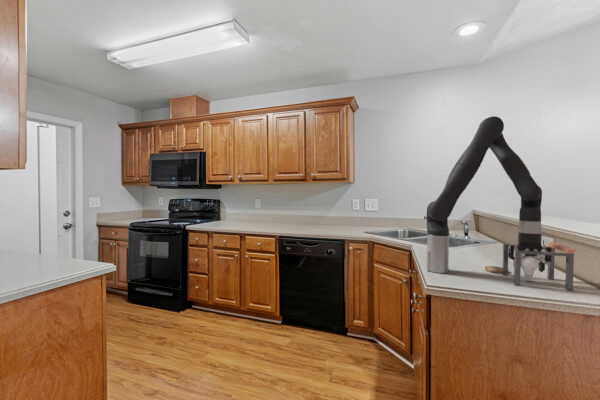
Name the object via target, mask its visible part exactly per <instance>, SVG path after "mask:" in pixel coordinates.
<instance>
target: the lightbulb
mask: <svg viewBox="0 0 600 400" xmlns="http://www.w3.org/2000/svg"><path fill="white" fill-rule="evenodd" d="M539 262H540V261H539V259H538V258H537V257H536V256H525V255H524V256H523V257H522V258H521V269H522V271H523V273H524V280H525V281H526V282H533V279H534V278H533V277H534V274H535V271H536V270H537V269H539Z"/></svg>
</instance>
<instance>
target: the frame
mask: <svg viewBox="0 0 600 400" xmlns="http://www.w3.org/2000/svg"><path fill="white" fill-rule="evenodd" d="M510 244H511V245H518V243H516V244H513V243H503V244H502V268H503V269H502V274H501V275H502V276H509V257H508V252H509V245H510ZM541 246H542V247H546V246H547V247H550V246H548V245H541ZM550 248H551V252H544V251H541V252H540V251H524V250H518V249H516V250H514V260H513V269H514V270H513V284H514V286H517V287H519V286H521V269H522V267H521V254H536V255H541V256H545V255H551V262H547V280H550V281H552V280H553V281H554V280H555V257H565V279H564V280H565V283H564V284H565V286H564V289H565V290H566V291H570V292H574V262H575V259H574V258H575V254H569V253H565V252H556V251H555V250H556V249H555V248H552V247H550Z"/></svg>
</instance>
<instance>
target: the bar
mask: <svg viewBox="0 0 600 400" xmlns="http://www.w3.org/2000/svg"><path fill="white" fill-rule="evenodd" d="M547 246H550V247H552V248H555V250H557V251H560V252H562V253H569V254H574V255H575V252H576V251H575V249H574V248H571V247H568V246H565V245H562V244H559V243H557V242H552V241H548V242H547Z"/></svg>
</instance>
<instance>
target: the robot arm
mask: <svg viewBox="0 0 600 400" xmlns="http://www.w3.org/2000/svg"><path fill="white" fill-rule="evenodd" d="M504 128H505V124H504V121H503V119H502V118H501V117H499V116H489V117H486V118H485V119H484V120H482V121H481V122H480V124H479V126H478V128H477V130H476V132H475V134H474V136H473V138H472V140H471V142H470V144H469V145H468V146H467V148H465V150H464V151H463V153H462V154H461V155H460V157H459V159H458V160H457V161H456V163H455V164H454V166H453V168H451V169H452V170H451V171H450V173H449V175H448V177H447V180H446V183H445V185H444V188H443V190H442V191H441V193H440V194H439V195H438V197H437V198H436V199H435V200H434V201H431V202H430V203H429V204H428V205H427V207H426V230H427V231H426V232H427V233H426V236H427V237H426V238H427V239H426V246H427V247H426V271H427V272H431V273H438V274H447V273H449V269H450V268H449V265H450V263H449V257H450V256H449V255H450V253H449V252H450V229H449V224H448V223H449V221H448V218H450V215H451V214H452V212H453V209H454V207H455V206H456V204H457V202H458V199H460V197H461V195H462V194H463V192H465V190H466V189H467V187H468V185H469V184H470V183H471V181H472V180H473V179H474V177H475V175H476V174H477V172H478V170H479V168H480V167H481V165H482V163H483V161H484V159H485V157H486V154H487V152H488V150H489V149H490V150H491V152H492V153H493V154H494V155H495V157H496V159H497V160H498V161H499V163H500V165H501V167H502V169H503V171H504V172H505V174H506V175H507V177H508V178H509V180H510V181H512V184H513V186H514V187H515V190H516V192H517V194H518V196H519V197H520V208H519V216H518V219H519V220H518V228H517V231H518V232H517V233H518V235H517V236H518V237H517V245H511V244H512V243H509V244H510V245H509V247H508V259H510V260H513V261H514V257H515V250H524V251H540V252H551V248H550V247H547V246H548V245H545V246H546V247H542V246H543V245H542V232H543V231H542V230H543V228H542V227H543V226H542V209H541V207H542V200H543V199H542V198H543V190H542V188H541V186H540V185H538V183H537V182H536V181H535V180H534V178H533V177H532V175H531V172H530V170H529V169H528V167H527V165H526V164H525V163H524V161H523V159H522V158H521V157H520V156H519V155H518V154H517V153H516V152H515V151H514V150H513V149H512V148H511V147H510V145H509V144H508V142H507V141H506V139H505V137H504V134H503V132H504ZM523 256H533V257H535V258H536V259H537V260H538V262H539V266H538V272H540V273H543V272H544V271H545V270H546V263H548V262H551V255H544V256H543V255H536V254H521V258H522V257H523Z"/></svg>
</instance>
